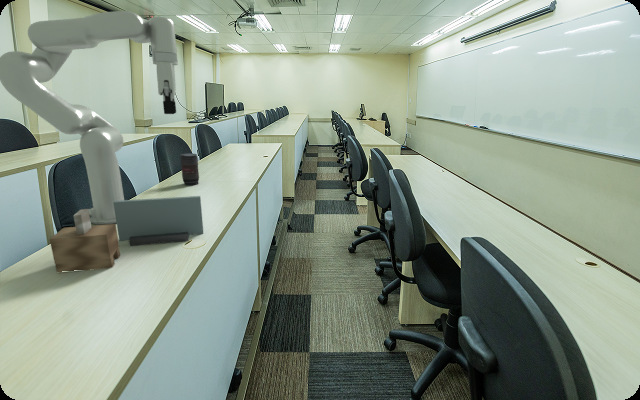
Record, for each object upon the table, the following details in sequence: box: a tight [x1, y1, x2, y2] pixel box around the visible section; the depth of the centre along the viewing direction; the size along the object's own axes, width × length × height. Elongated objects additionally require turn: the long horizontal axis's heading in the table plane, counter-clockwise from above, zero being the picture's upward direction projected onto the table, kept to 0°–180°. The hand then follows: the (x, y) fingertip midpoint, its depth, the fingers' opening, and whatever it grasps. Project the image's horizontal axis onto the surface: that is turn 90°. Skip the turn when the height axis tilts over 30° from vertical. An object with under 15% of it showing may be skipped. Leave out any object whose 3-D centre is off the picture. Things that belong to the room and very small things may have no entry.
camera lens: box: [179, 153, 200, 186], centre depth 176 cm, size 8×8×15 cm
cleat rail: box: [128, 232, 190, 247], centre depth 104 cm, size 16×2×2 cm, turn 105°
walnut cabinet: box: [49, 208, 121, 273], centre depth 89 cm, size 12×8×14 cm, turn 105°
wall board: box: [113, 195, 204, 242], centre depth 108 cm, size 24×2×12 cm, turn 105°
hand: (170, 113), depth 120 cm, fingers open, 9 cm apart
